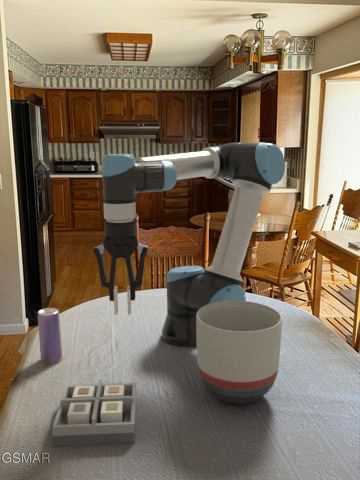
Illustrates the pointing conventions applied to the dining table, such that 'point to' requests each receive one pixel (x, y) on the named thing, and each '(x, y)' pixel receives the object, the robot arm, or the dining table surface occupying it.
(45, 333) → the beverage can
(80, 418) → the key
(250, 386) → the planter
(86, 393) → the key
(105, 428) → the keypad
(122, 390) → the key
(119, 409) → the key
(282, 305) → the dining table surface
